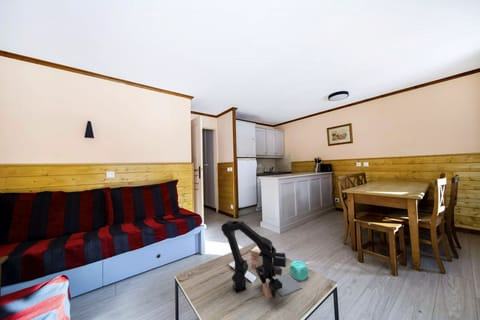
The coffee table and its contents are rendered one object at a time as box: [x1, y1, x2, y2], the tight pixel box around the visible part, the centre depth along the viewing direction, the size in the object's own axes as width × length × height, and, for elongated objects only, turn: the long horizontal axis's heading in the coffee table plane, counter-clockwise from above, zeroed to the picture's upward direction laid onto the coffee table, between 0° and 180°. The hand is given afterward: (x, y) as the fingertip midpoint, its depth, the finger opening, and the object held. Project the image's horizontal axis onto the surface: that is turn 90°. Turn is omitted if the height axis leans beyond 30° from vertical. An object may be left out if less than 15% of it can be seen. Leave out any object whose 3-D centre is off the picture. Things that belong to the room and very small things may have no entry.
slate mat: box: [267, 273, 303, 298], centre depth 104 cm, size 14×14×1 cm
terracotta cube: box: [262, 281, 272, 299], centre depth 98 cm, size 5×5×5 cm
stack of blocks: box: [250, 245, 272, 270], centre depth 131 cm, size 21×6×12 cm, turn 146°
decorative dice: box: [289, 260, 309, 282], centre depth 111 cm, size 8×8×8 cm
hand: (269, 292), depth 98 cm, fingers open, 9 cm apart
